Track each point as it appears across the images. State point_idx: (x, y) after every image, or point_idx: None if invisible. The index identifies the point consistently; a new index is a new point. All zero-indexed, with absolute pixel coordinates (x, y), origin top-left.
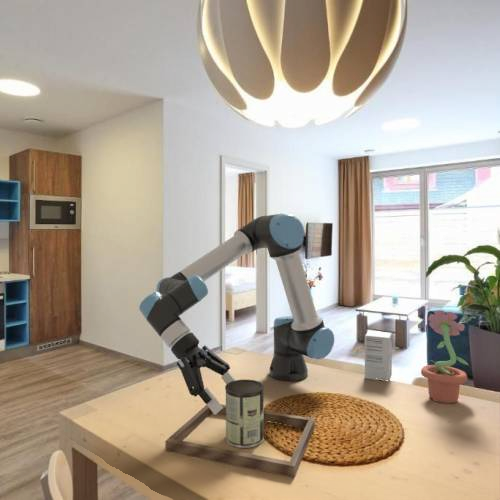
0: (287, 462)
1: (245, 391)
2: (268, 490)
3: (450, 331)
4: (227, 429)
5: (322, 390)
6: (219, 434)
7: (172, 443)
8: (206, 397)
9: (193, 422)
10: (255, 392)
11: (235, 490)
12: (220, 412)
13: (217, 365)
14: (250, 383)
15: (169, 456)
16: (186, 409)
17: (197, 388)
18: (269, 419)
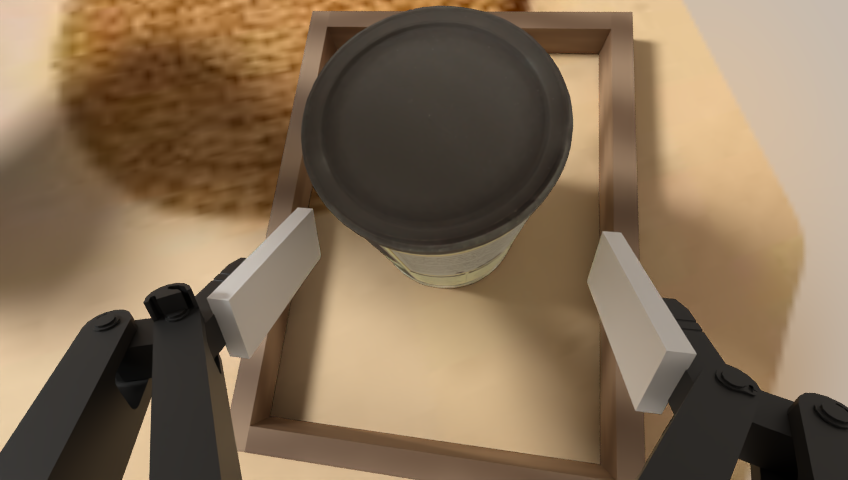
0: (619, 32)
1: (516, 90)
2: (703, 85)
3: None
4: (494, 263)
5: (40, 53)
6: (440, 319)
7: None
8: (698, 326)
9: (431, 451)
10: (519, 28)
11: (744, 165)
12: (274, 371)
13: (213, 396)
14: (365, 101)
15: None
16: None
17: (844, 408)
18: None
